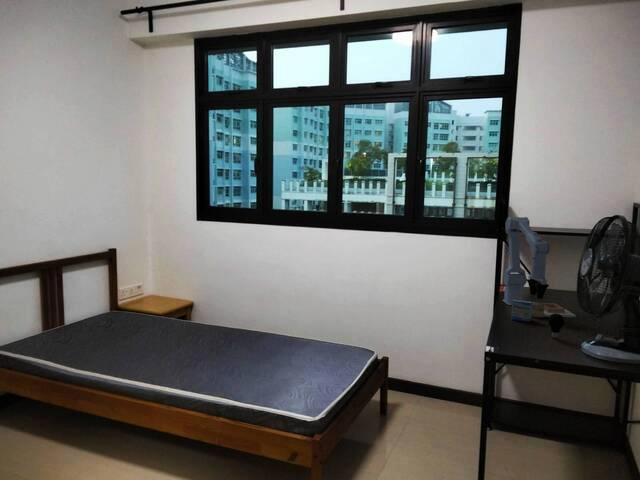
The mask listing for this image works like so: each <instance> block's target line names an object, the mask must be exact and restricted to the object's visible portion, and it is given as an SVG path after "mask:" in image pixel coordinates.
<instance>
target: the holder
mask: <svg viewBox="0 0 640 480" xmlns="http://www.w3.org/2000/svg"><path fill="white" fill-rule="evenodd" d="M541 303H542V304H544V316H543V318H544V317H545V318H546V317H547V318H549V316H550V315H552V314H560V315H561V316H563V318H577V315H576V314H574V313H572V312H571V311H569V310H568V309H566V308H564V307H562V306H560V305H559V304H557V303H551V302H549V303H547V302H541Z"/></svg>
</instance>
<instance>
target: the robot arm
mask: <svg viewBox="0 0 640 480" xmlns="http://www.w3.org/2000/svg"><path fill="white" fill-rule="evenodd" d="M505 233H506V235H507V236H508V253H509V254H508V257H509V260H508V261H509V267H507V269H505V270H504V272H503V274H504V275H503V282H504V283H503V284H504V285H505V288H504V294H503V295H504V297H503V299H502V302H504V303H505V304H507V305H508V306H512V302H513V299H515V300H522V298H523V297H522V295H523V288H524V287H525V286H526V284H528V288H529V292H530V293H529V294H530V295H534V296H536V299H538V300H539V299H540V300H543V299H544V296H545V293H546V290H547V289H548V287H549V286H550V285H549V284H548V283H547V278H546V264H547V255H548V254H549V253H550V250H551V249H550V244H549V243H550V242H548V240H547V241H545V240H543V239H542V238H541V236H539V234H538V232H536V231H533V229H532V228H531V226H530V219H529V218H528V217H527V216H524V217H517V216H516V217H514V216H508V217H507V219H506V220H505ZM523 234H524V236H525V241H526V242H527V243H528V245H529V246H530V249H529V250H530V253H531V254H530V255H531V269H530V271H531V273H529V275H528V279H527V275H526V270H525V269H523V268H522V267H521V251H520V236H521V235H523Z"/></svg>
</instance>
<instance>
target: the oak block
mask: <svg viewBox="0 0 640 480" xmlns="http://www.w3.org/2000/svg"><path fill="white" fill-rule="evenodd" d="M531 302H532V309H531V318H544V304H542V303H543V302H539V301H538V302H537V301H536V302H535V301H531Z"/></svg>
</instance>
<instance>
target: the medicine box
mask: <svg viewBox="0 0 640 480" xmlns="http://www.w3.org/2000/svg"><path fill="white" fill-rule="evenodd" d="M532 302H533V301H530V300H522V299H521V300H515V299H513V302H512V305H511V317H510V319H511V320H512V321H519V322H526V323H530V322H531V320H532V317H531V309H532Z"/></svg>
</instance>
